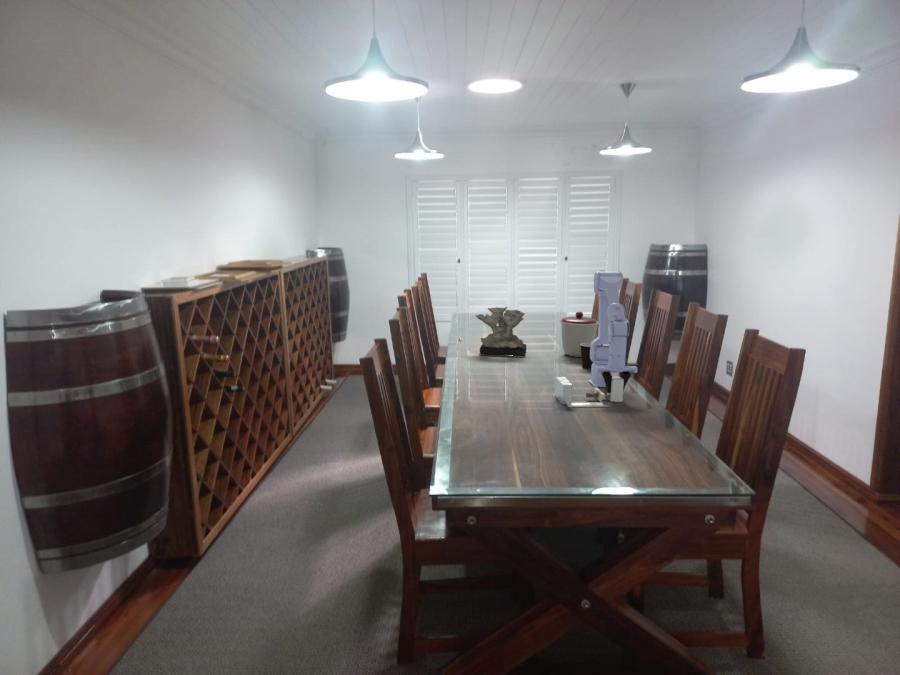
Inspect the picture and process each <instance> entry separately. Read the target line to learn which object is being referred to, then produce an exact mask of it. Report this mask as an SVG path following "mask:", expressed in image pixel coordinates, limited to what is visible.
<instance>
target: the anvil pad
mask: <svg viewBox="0 0 900 675" xmlns="http://www.w3.org/2000/svg"><path fill="white" fill-rule="evenodd" d="M605 395H606V394H605V393H604V392H603V391H602V390H601V389H599V387H594V388H593V392H586V393H585V398H595V399H596V400H598V401H599V403H605V404H609V403H608V402H607V401H606V398H605Z"/></svg>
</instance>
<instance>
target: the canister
mask: <svg viewBox="0 0 900 675" xmlns="http://www.w3.org/2000/svg"><path fill="white" fill-rule="evenodd" d="M559 322H560V329H561V330H560V331H561V339H562V340H561V341H562V342H561V343H562V351H563V353H564V354H565V355H566V356H568V355H569V356H568V357H573V356H574V357H576V358H581V346H580V344H582V343H591V342H592V341H593V340H595V339H596V334H597V333H596V332H597V328H598V325H599V320H597V319H595V318H593V317H587V316H584V313H583V312H582V311H576V312H575V316H566V317H563V318H561V319H560V320H559Z"/></svg>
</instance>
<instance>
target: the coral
mask: <svg viewBox="0 0 900 675" xmlns="http://www.w3.org/2000/svg"><path fill="white" fill-rule="evenodd" d="M487 310H488V311H489V312H491V315H489V314H488V313H486V315H484V314H482V313H481V314H480V313H479V314H476V315H475V317H476V318H477V319H478V320H479V321H481V322H483V323H484V324H486V325H487V326H488V327H490V328H491V331H492V333H489V334H488V335H486V337H481V338H480V342H481V343H482V344H481V346H480V347H479V355H480V354H484V355H483V356H489V355H513V356H525V357H526V354H527V344H526V343H524V340H522V339H520V338H519V337H518V336H517V335H516V334H514V331H513V330H514V329H515V327H517V326H518V325H519V324H521V322H523V320H525V319H524V315H526V313H525V312H523V311H520V310H519V309H514V310H513V309H512V310H511V309H508V306H505V307H490V308H487ZM497 325H498V326H497ZM525 353H526V354H525Z"/></svg>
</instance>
